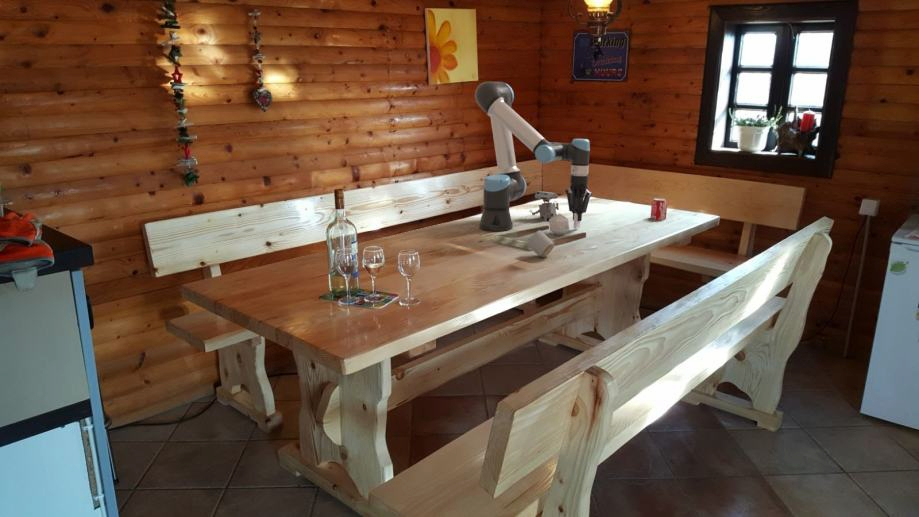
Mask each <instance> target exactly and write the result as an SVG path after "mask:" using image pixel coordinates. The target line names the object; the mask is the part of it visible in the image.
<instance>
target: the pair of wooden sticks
mask: <svg viewBox="0 0 919 517" xmlns="http://www.w3.org/2000/svg"><path fill="white" fill-rule="evenodd" d="M539 230H540V231H542V232H543V231H547V230H550V225H547V224H546V225H542V226H541V225H540V226H537V227H531V228H526V229H522V230H516V231H512V232H507V233H500V234H496V235H493V242H494V243H497V244H503V245H507V246H512V247H517V248H521V249H525V250H528V251H533V250H532V249H530V248H529V247H528V246H527V242H528V241H524V240H519V239H517V238H521V237H525V236H528V235H533V234H534V233H536V232H537V231H539ZM586 238H587V232H585V231H584V232H580V233H574V234H571V235H570V234H569V235H565V236H561V237H556V238H553V239H551V238H550V239H551V240H552V242H553V243H554V247H555V246H559V245H563V244H568V243H572V242H575V241H578V240H582V239H586Z"/></svg>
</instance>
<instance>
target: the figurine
mask: <svg viewBox="0 0 919 517" xmlns="http://www.w3.org/2000/svg"><path fill="white" fill-rule="evenodd" d="M534 198H535V199H538V200H542V201H543V202H542V203H541V204H539V205H538V209H537V210H535V211H532V210H530V213H531V215H532V216H535V215H537V214H538V213H539V221H542V222H548V219H550V218H552V217H554V216H556V215H558V214H557V211H559V210H560V209H559V207H560V206H559V202H557V201H553V202H550V201H551V200H555V199H558V198H559V195H558V194H557V193H556V192H551V191H543V190H542V191H541V190H537V191H536V192H535V194H534Z"/></svg>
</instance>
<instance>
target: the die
mask: <svg viewBox="0 0 919 517" xmlns="http://www.w3.org/2000/svg"><path fill="white" fill-rule="evenodd" d="M569 221H570V220H569V218H567V217H566V216H565V215H564V214H562V213H560V212H559V213H558V214H557V215H556V216H554V217H552V218H548V222H549V231H550V232H552V233H553V234H555V235H556V236H562V235H564V234H566V233H568V232H569V231H570V223H569Z"/></svg>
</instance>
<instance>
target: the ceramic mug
mask: <svg viewBox="0 0 919 517" xmlns="http://www.w3.org/2000/svg"><path fill="white" fill-rule="evenodd" d="M526 242H527V246H528V247H529V248H530V249H532V250H531V251H533V252H534V253H535V254H536V255H538V257H541V258H545V257H547V256H548V255H549V254H550V253H552V251H553V249H554V247H555V246H554V243H553V242H552V240H551V238H549V237H548V236H547V235H546V234H545V233H544V232H543V231H540V230H539V231H537V232H536V233H532V234H531V236H530V238H529V239H528V240H527V241H526Z"/></svg>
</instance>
